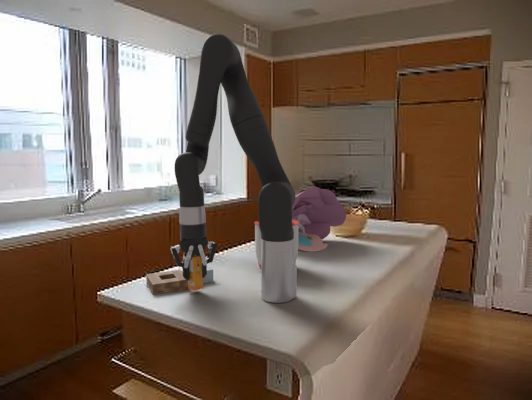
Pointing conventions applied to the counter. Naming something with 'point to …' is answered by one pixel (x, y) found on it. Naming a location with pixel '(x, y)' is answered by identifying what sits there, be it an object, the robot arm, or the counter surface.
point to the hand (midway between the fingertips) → (195, 278)
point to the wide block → (208, 275)
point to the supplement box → (195, 273)
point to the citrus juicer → (258, 241)
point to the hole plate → (166, 281)
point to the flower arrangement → (316, 217)
